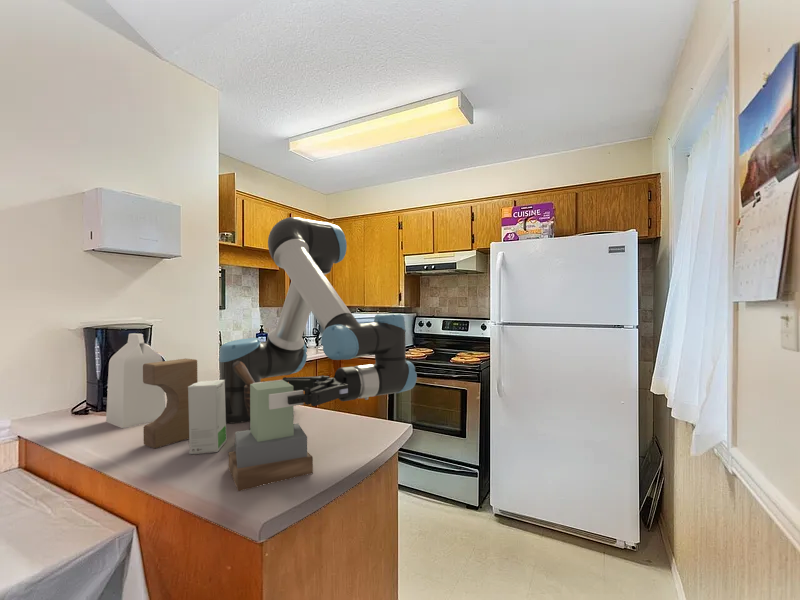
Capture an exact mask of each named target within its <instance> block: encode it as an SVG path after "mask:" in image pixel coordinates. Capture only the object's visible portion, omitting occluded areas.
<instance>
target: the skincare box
mask: <svg viewBox="0 0 800 600" xmlns="http://www.w3.org/2000/svg"><path fill="white" fill-rule="evenodd" d="M188 403H189V439H188V440H189V441H188V442H189V445H188V446H189V455H200V454H212V453H217V452H219V451H220V450H221V449H222V447H223V445H225V444H226V442H227V423H226V408H225V380H220V379H217V380H215V379H214V380H200V381H198V382H197V383H194V384H192V385H191V386H188Z"/></svg>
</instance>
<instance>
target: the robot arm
mask: <svg viewBox="0 0 800 600" xmlns="http://www.w3.org/2000/svg"><path fill="white" fill-rule="evenodd" d="M267 238H268V239H267V248H268V251H269V255H270V257H271V259H272V260H273V262H274V263H275V265H276V266H277V267H278V268H280V269H283V270H284V272H285V273H286V275H287V276H288V278H289V279H290V285H289V287H288V290H287V294H286V297H285V300H284V303H283V305H282V309H281V311H280V315H279V318H278V322H277V324H276V328H275V329H273V330H271V331H270V332H269V334H268V337H267V339H266V341H261V340H260V338H258V337H248V338H241V339H235V340H231V341H228V342H225V343H223V344H222V345H221V346H220V348H219V356H218V362H219V363H218V364H219V380H225V408H226V424H238V423H247V422H250V416H249V415H248V413H247V412H248V411H247V408H246V406H245V400H244V386H245V385H246V383H245V382H244V381H243V380H242V379H241V378H240V377H239V376H238V375H237V374H236V373H235V372H234V370H233V368H232V365H233V363H234V362H236V361H241V362H243V363H244V365H245V366H246V368H247V369H248V371H249V373H250V375H251V377H252V378H253V380H254V381H255V383H253V384H256V382H258V383H265V382H263V381H261V380H262V379H267V378H268V379H269V378H273V377H275V378H276V377H279V376H280V377H282V376H283V377H282V379H276V380H275V379H274V380H267V382H274V381H283V380H284V381H286V382H287V383H289V384H291V385H292V386H293V391H291V392H283V393H276V394H269V409H270V410H271V409H277V408H284V407H290V406H295V407H296V406H302V405H308V406H309V405H310V406H312V407H317V406H320V405H323V404H325V403H329V402H331V401H335V400H337V399H338V400H339V401H341V402H347V401H348V402H349V401H355V400H357V399H364V400H365V401H367V400H369V397H371V398H372V397H377V396H383V395H391V394H399V393H403V392H407V391H410V390H412V389H413V388H414V387H415V386H416V383H417V380H418V378H417V377H418V375H417V372H416V367H415V365H414V363H413V362H411V361H410V360H407V357H406V353H407V351H406V350H407V349H406V331H407V330H406V322H405V316H404V315H403V314H401V313H380V314H376V315H375V316H374V319H373V322H365V323H363V322H362V323H359V322H358V320H357V319H356V318H355V316H354V314H352V312H351V311H350V309H349V308H348V307H347V305H346V303H345V302H344V300H343V299H342V298H341V297H340V295H339V294H338V292H337V290H336V289H335V288H334V287H333V285H332V283H331V282H330V281H329V280H328V278H327V277H326V275H328V274H330V272H332V271H331V270H332V268H333V265H334V264H338V263H340V262H342V261H343V260H344V258H345V256H346V253H347V247H348V246H347V239H346V235H345V233H344V231H343V230H342V228H341V227H340V226H339V225H336V224H333V223H330V222H328V221H319V220H312V219H306V218H302V217H295V216H291V217H286V218H283V219H281V220H279V221H278V222H277V223H276V224H275V225H274V226H273V227H272V228H271V230H270V231H269V235H268V237H267ZM311 314H312V315H313V316H314V319H316V321H317V323H318V324H319V326H320V328H321V329H322V330H323V332H322V335H321V339H320V343H321V345H322V351H323V353H324V355H325V356H326V357H327V358H329V359H330V360H334V361H335V360H336V361H340V360H343V361H344V360H347V361H348V360H351V359H356V358H363V357H368V356H374V360H375V363H372V364H371V363H369V364H363V365H362V364H360V365H355V366H345V367H339V368H337V369H336V371H335V373H334V376H333V377H330V375H323V374H322V375H317V376H315V375H314V376H296V377H295V376H291V377H289V376H290V375H292V374H296V373H298V372H300V371H302V369H303V368H304V366H305V364H306V362H307V358H308V354H307V352H308V349H307V345H306V343H305V340H304V338H303V334H304V332H305V328H306V326H307V324H308V321H309V318H310V315H311ZM286 376H288V377H286Z"/></svg>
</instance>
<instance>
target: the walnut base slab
mask: <svg viewBox="0 0 800 600" xmlns="http://www.w3.org/2000/svg"><path fill="white" fill-rule="evenodd" d="M313 461H314V458H313V455H311V453H310V452H309V451H307V457H302V458H296V459H290V460H285V461H279V462H273V463H267V464H261V465H255V466H250V467H244V468H238V469H237V460H236V451H235V450H234V451H230V452H228V470H230V471H229V472H230V475H231V478H232V480H233V482H234V484H235V487H236V489H237V491H238V492H241V490H242V491H245V489H246V490H249V489H253V488H258V487H261V486H260V485H262V486H264V485H263V484H266V485H269V484H268V483H270V484H272V483H271V482H275V483H278V482H277V481H279V482H282V481H281V480H283V481H286V480H285V479H287V480H290V478H291V479H295V478H298V477H303V476H306V475H307V474H308V475H310V474H311V473H312V474H313V472H314V468H313V467H314V463H313ZM308 475H307V476H308ZM294 477H295V478H294ZM257 486H258V487H257Z"/></svg>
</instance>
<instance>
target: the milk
mask: <svg viewBox="0 0 800 600" xmlns="http://www.w3.org/2000/svg"><path fill="white" fill-rule="evenodd" d="M162 361H163V358H162V356H161V355H160V354H159V353H158V352H157V351H155V350H154V349H153V347H152V346H150V345H149V344H148V343H145V340H144V336H143V333H128V338H127V342H126V344H124V345H123V346H122V347H121V348H119V349H118V351H116V352H115V353H114V354H113V355H112V356H111V357H110V359H109V362H108V373H107V374H108V376H107V396H106V397H107V398H106V412H105V413H106V414H105V415H106V416H105V417H106V418H105V422H106V423H108V424H110V425H113V426H115V427H118V428H121V429H126V428H131V427H135V425H136V426H139V424H140V425H143V424H149V423H151V422H154V421H155V420H156V419H157V418H158V417H159V416H160V415H161V414H162V413H163V411H164V409H165V408H166V393H165V392H164V391H163V389H162V388H161V387H159V386H157V385H150V384H145V383H143V365H144V364H146V363H154V362H162Z"/></svg>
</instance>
